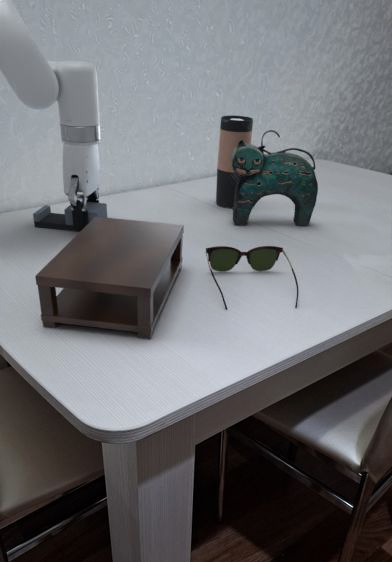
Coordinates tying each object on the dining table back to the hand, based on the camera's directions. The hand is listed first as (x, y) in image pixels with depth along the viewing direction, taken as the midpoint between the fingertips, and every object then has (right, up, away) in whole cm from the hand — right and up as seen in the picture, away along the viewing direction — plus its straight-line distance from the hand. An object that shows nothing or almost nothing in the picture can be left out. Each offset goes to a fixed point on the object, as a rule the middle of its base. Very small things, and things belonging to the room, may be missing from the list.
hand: (87, 222), depth 108 cm
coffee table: (+11, -18, -25) cm, 33 cm away
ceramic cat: (+40, +2, +9) cm, 41 cm away
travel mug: (+32, +9, +20) cm, 39 cm away
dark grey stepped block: (-3, 0, +1) cm, 4 cm away
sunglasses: (+33, -17, -21) cm, 43 cm away
